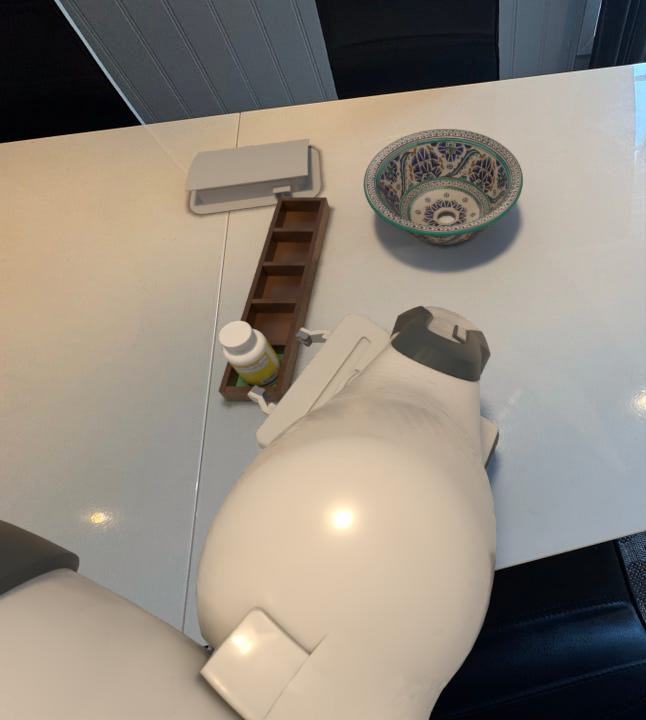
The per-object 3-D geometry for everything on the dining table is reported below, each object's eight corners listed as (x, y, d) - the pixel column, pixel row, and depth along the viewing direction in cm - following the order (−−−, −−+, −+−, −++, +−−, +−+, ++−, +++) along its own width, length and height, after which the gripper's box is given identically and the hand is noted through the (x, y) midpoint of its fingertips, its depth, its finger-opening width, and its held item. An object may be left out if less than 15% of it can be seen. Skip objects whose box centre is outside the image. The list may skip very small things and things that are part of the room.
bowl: (409, 163, 96) (402, 116, 88) (536, 192, 91) (541, 145, 83) (348, 255, 83) (334, 210, 75) (492, 294, 79) (493, 251, 71)
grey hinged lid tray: (321, 198, 91) (315, 179, 87) (188, 216, 88) (176, 198, 85) (318, 145, 99) (312, 127, 95) (195, 161, 96) (185, 142, 93)
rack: (227, 401, 69) (218, 391, 67) (284, 209, 89) (278, 197, 87) (287, 401, 69) (280, 391, 67) (330, 209, 89) (326, 197, 87)
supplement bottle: (250, 355, 72) (220, 314, 64) (288, 357, 72) (262, 316, 64) (239, 389, 70) (206, 350, 61) (278, 390, 69) (250, 352, 61)
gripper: (410, 325, 63) (317, 288, 66) (313, 468, 53) (210, 416, 56) (415, 352, 68) (330, 317, 71) (328, 487, 58) (234, 439, 62)
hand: (276, 362), depth 64 cm, fingers open, 8 cm apart
